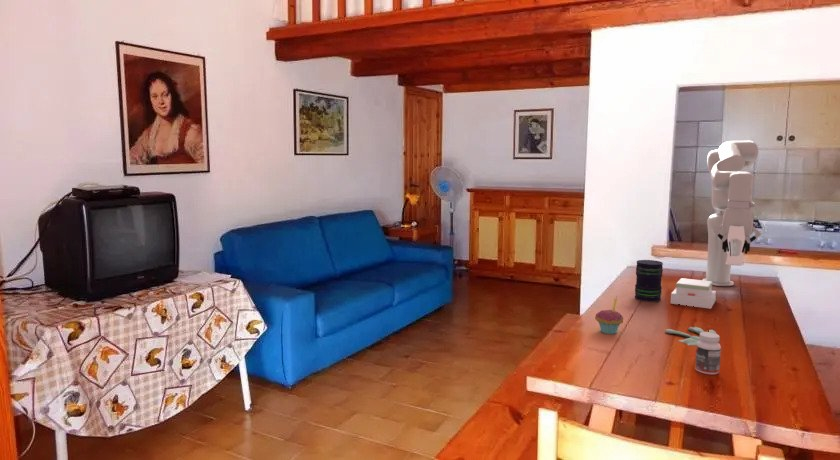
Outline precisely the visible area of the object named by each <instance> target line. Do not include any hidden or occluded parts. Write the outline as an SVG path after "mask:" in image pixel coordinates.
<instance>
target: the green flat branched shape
mask: <svg viewBox="0 0 840 460" xmlns="http://www.w3.org/2000/svg"><path fill="white" fill-rule="evenodd" d="M687 330H688V331H689V332H691V333H694V334H696V335H691V334H688V333H686V332H682V331H680V330H674V329H671V328H667V329H665V333H664V334H669V335H674V336H679V337H682V338H685V339H679V340H678V342H680V343H683V344H686V345H687V346H695V347H697V342H698V341H700V338H699V336H697V335H700V333H701V332H707V331H706V330H704V329H702V328H701V327H697V326H694V327H693V326H689V327H688V328H687ZM709 332H710V333H715V334H717V332H716V331H715V330H714V329H709ZM717 335H719V334H717ZM720 340H721V339H720V338H719V341H720Z"/></svg>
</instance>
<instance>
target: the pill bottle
mask: <svg viewBox="0 0 840 460" xmlns="http://www.w3.org/2000/svg"><path fill="white" fill-rule="evenodd" d="M698 335H699V334H698ZM698 337H699V338H700V341H698V342H697V346H696V351H695V364H694V366H695V367H694V369H695V370H696V371H697V372H699V373H702V374H705V375H711V376H712V375H717V374H719V373H720V369H721V368H720V367H721V355H722V353H721V352H722V346H721V344H720V343H719V342H720V340H719V338H720V335H719V334H718V335H717V334H715V333H710V332H708V331H706V332H705V331H704V332H701V333H700V335H699V336H698Z"/></svg>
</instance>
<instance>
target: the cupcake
mask: <svg viewBox="0 0 840 460" xmlns="http://www.w3.org/2000/svg"><path fill="white" fill-rule="evenodd" d="M617 298H618V296H617V295H616V296H615V298H614V301H613V305H612V309H603V310H600V311H598V312H597V313H596V314H595V317H594V318H595V321H597V322H598V324H599V328H600V332H601V333H603V334H608V335H613V334H614V335H615V334H616V333H617V332H618V329H619V327H620V325H621V324H623V322H624V316H623V315H622V314H621V313H620V312H618V311H616V305H617V300H618V299H617Z"/></svg>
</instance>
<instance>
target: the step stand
mask: <svg viewBox="0 0 840 460" xmlns="http://www.w3.org/2000/svg"><path fill="white" fill-rule="evenodd" d="M713 286H714V285H713V282H712V281H704V280H701V279H692V278H685V277H684V278H682V277H681V278H680V279H679V280H678V281H677V282H676V283H675V288H674V289H673V291H671V293H670V304H672V305H678V304H680V306H686V305H687V307H693V306H694V307H695V308H701V309H702V308H704V309H709V310H711V309H712V308H713V306H714V304H715V303H716V298H717V297H716V296H717V291H716V290H712V287H713Z"/></svg>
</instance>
